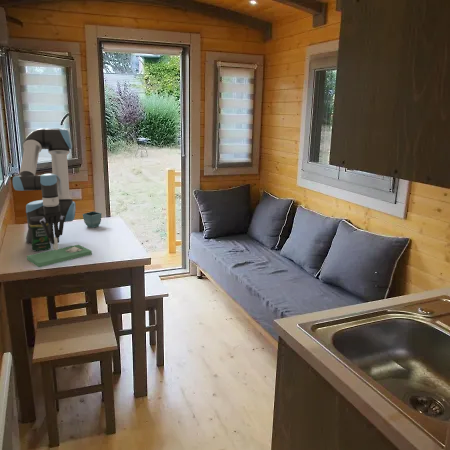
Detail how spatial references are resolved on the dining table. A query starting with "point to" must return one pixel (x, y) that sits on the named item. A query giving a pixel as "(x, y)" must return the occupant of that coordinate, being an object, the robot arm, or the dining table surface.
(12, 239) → the dining table surface
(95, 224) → the flower pot
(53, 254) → the mat
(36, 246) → the coffee jar
